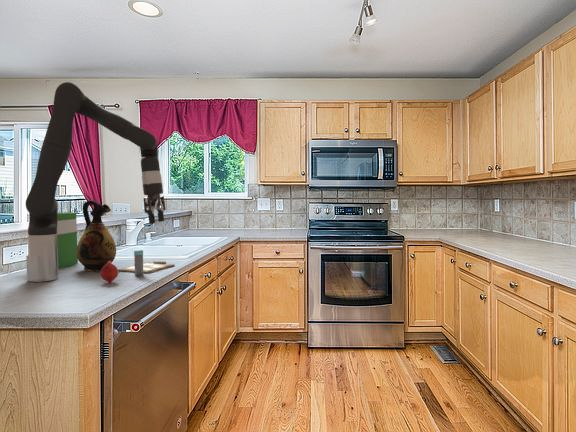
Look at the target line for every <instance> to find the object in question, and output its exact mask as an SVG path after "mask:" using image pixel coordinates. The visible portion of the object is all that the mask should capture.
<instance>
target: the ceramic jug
mask: <svg viewBox="0 0 576 432" xmlns="http://www.w3.org/2000/svg"><path fill="white" fill-rule="evenodd" d="M89 206H93V209H92V210H90V213H89ZM111 211H112V209H111V208H110V206H109V205H108V204H106V203H105V204H103V205H102V203H98V201H96V200H94V199H91V200H90V199H89V200H86V201H85V202H84V204H83V205H82V213H83V214H82V215H83V217H84V221H85V228H84V232H83V233H82V235H81V236H80V238H79V241H78V242H77V258H78V263H80V264H81V265H82V266H83V270H85V271H86V272H101V269H102V268H103V267H104V266H105V265H106V264H107V263H108V262H109V261H111V263H112V264H113V262H114V260H115V259H116V256H117V245H116V243H115V239H114V237H113V236H112V234H111V232H110V231H109V229H108V228H107V226H106V225H105V224H104V222H103V220H102V216H103V215H105V214H107V213H110V212H111ZM90 215H91V216H92V220H91V217H90Z"/></svg>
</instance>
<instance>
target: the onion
mask: <svg viewBox="0 0 576 432" xmlns="http://www.w3.org/2000/svg"><path fill="white" fill-rule="evenodd" d="M118 269H119V268H118V267H117V266H116V265H115V264H113V262H112V263H111V261H109V262H108V263H107V264H106V265H105V266H104V267H103V268H102V269H101V271H100V278H101V279H102V280H103V281H104V282H107V283H108V284H111V283H113V281H115V280H116V279H117V277H118V276H119V271H118Z"/></svg>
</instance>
